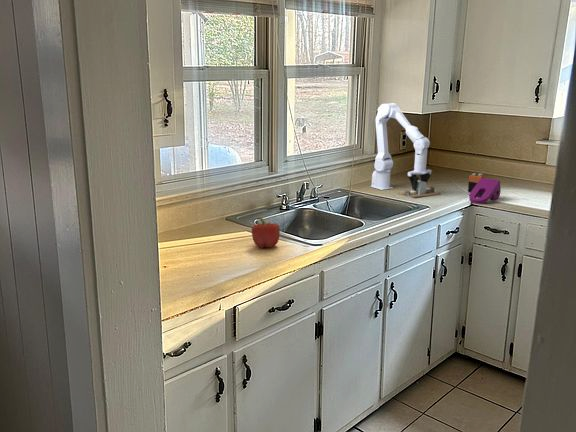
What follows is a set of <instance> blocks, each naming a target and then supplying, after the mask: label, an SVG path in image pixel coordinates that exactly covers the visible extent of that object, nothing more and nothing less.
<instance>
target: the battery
mask: <svg viewBox="0 0 576 432" xmlns="http://www.w3.org/2000/svg"><path fill="white" fill-rule="evenodd" d="M481 178H486V176H485V175H484V174H483V173H478V174H477V173H476V172H475V173H474V172H473V173H472V174H469V177H468V187H467V192H468V193H470V192H471V191H472V190H473V188H474V187H475V186H476V184H477V183H478V182H479V180H480V179H481Z"/></svg>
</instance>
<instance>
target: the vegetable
mask: <svg viewBox="0 0 576 432" xmlns="http://www.w3.org/2000/svg"><path fill="white" fill-rule="evenodd" d="M256 220H259V221H261V223H258V224H256V225H253V226H252V228H251V236H252V240H253V243H254V245H256V246H257V247H259V248H260V249H264V248H271V247H275V246H276V245H277V244H278V242H279V240H280V239H279V238H280V226H279V224H278V223H271V222H267V223H266V221H265V220H264V218H262V217H261V216H259V217H256Z"/></svg>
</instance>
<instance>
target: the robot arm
mask: <svg viewBox="0 0 576 432" xmlns="http://www.w3.org/2000/svg"><path fill="white" fill-rule="evenodd" d="M390 119H395V120H396V122H398V123H399V125H401V127H402V128H404V129H405V135H407V137H408V138H409V139H410V141H411V142H412V143H413V148H414V151H415V152H414V164H413V165H414V166H413V170H411V171H408V172H407V176H408V179H409V182H410V184H411V188H412V189H413V190H416V188H417V182H418V180H419V179H420V181H423V182H426V185H427V183H428V181H429V179H430V178H431V174H432V169H429V168H428V169H427V160H428V159H427V157H428V149H429V147H430V144H431V141H430V140H429V138H428V137H426V136H425V135H424V134H422V132H420V131H419V128H418V127H417V126H415V125H412V124H411V123H410V121H409V120H408V119H407V117H406V116H405V114H404V113H403V112H402V110H401V108H400V107H399V106H398V104H397V103H395V102H391V103H381V104H380V106H379V107H378V108H377V114H376V115H375V131H376V132H375V133H376V134H375V135H376V143H377V144H376V146H377V147H376V148H377V155H376V156H375V158H374V161H375V162H374V165H373V166H374V171H373V172H372V175H371V185H370V187H371V188H373V189H377V190H379V191H380V190H381V191H384V190H390V189H391V190H392V189H394V187H392V186H391V185H390V184H391V170H392V168H394V161H393V159H392V154H390V152H389V140H388V127H387V125H388V124H387V123H388V121H389V120H390Z"/></svg>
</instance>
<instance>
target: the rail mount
mask: <svg viewBox="0 0 576 432" xmlns="http://www.w3.org/2000/svg"><path fill="white" fill-rule="evenodd" d="M435 190H436V187H434V186H428V188H427V187H426V194H422V195H419V194H418V190H413V191H411V190H404V191H402V192H398V195H402V196H404V197H409V198H411V199H419V198H426V197H430V196H431V197H432V196H437V195H438V196H439V195H441V192H437V191H435Z"/></svg>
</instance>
